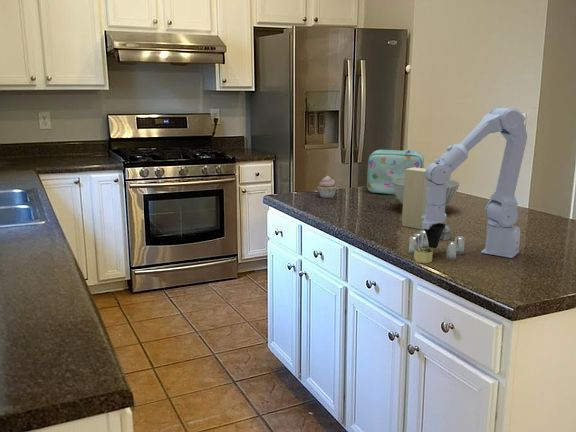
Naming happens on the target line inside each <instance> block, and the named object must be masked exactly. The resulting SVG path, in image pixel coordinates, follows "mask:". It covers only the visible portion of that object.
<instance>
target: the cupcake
mask: <svg viewBox="0 0 576 432" xmlns="http://www.w3.org/2000/svg"><path fill="white" fill-rule="evenodd" d="M318 184H319V185H318V186H316V188H317V189H318V192H319V197H320V198H321V199H334V198H335V195H336V191H337V190H338V188H339V186H336V182H335V180H334V179H332V178H331V176H329V175H326V176H324V177H323V178H322V179H321V181H320V182H319V183H318Z"/></svg>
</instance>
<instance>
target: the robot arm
mask: <svg viewBox="0 0 576 432" xmlns="http://www.w3.org/2000/svg"><path fill="white" fill-rule="evenodd" d="M525 120H526V116H524V114H523V113H522V112H521V111H520V110H519V109H518V108H516V107H502V106H495V107H494V108H492V109H491V110H489V112H487V113H486V114H485V115H484V116H483V117H482V119H481V120H480V122H478V124H476V126H475V127H474V128H473V129H472V130H471V131H470V132H469V133H468V134H467V135H466V136H465V137H464V139H463V140H461V142H460V143H454V144H452V145H448V146H447V147H446V151H445V152H444V153H443V154H442V155H441V156H440V157H439V158H438V157H437V158H436V159H434V160H435V162H433V163H429V164H428V166H427V167H426V168H425V169H426V171H425V172H424V176H425V178H426V179H427V188H426V209H425V216H422V217H421V219H424V221H423V222H422V229H421V230H425V232H426V235H427V239H428V247H429V249H437V248H438V246H439V242H440V240H441V239H440V236H441V234H442V232H443V230H444V228H445V226H446V225H447V224H446V223H444V222H446V221H447V217H448V216H447V214H448V213H446V206H445V202H446V183H447V181H449V180H450V179H451V176H452V173H454V171H455V170H457V169H458V168H459V167H460V166H461V165H462V164H463V163H464V162H465V161H466V160H467V159H468V157H469V151H471V150H472V149H473V148H474V147H475V146H477V145H478V144H479V143H480V142H481V141H483V139H485V138H486V137H487V136H488V135H490V134H495V133H500V135H502V137H503V138H505V140H506V143H505V147H504V152H503V157H502V162H501V165H500V171H499V175H498V179H497V184H496V187H495V188H496V189H495V191H494V193H493V194H491V195H490V198H489V201H488V202H487V204H486V205H485V208H484V215H485V216H486V218H487V225H486V238H485V239H486V240H485V247H484V248H483V249H482V250H481V251H480V254H486V255H493V256H498V257H504V258H508V259H509V258H510V259H513V258H514V257H515V256H517V255H518V254H519V253H520V241H521V228H520V227H519V226H514V224H516V222H517V221H518V217H519V212H518V205H519V203H518V201H517V199H516V195H515V194H516V189H517V185H518V181H519V177H520V176H519V175H520V171H521V167H522V162H523V159H524V154H525V149H526V144H527V140H528V133H527V128H526V124H525Z"/></svg>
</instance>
